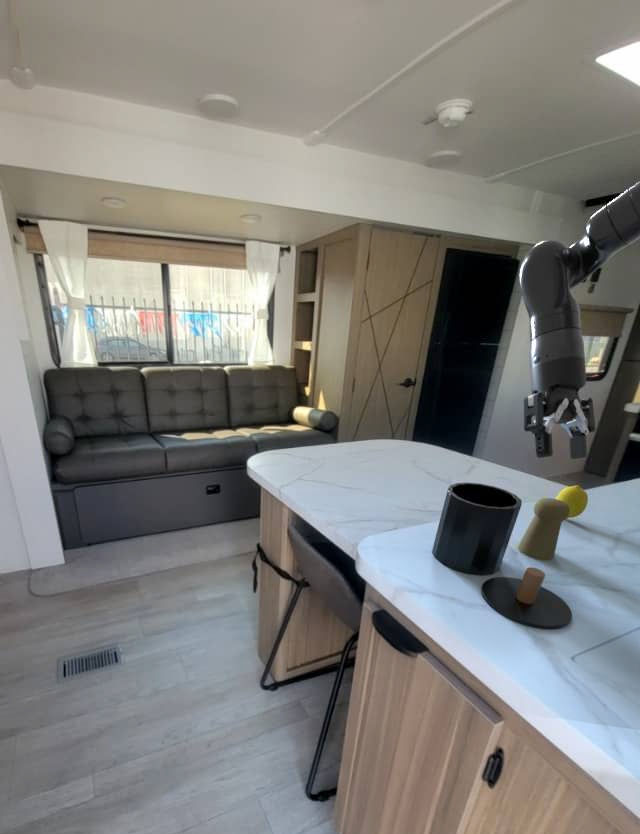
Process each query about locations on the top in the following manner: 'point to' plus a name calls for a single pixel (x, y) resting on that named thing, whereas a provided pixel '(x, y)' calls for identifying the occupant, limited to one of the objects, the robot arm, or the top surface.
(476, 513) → the canister
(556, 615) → the lid
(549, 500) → the cork
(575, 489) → the lemon
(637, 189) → the robot arm
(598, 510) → the top surface
